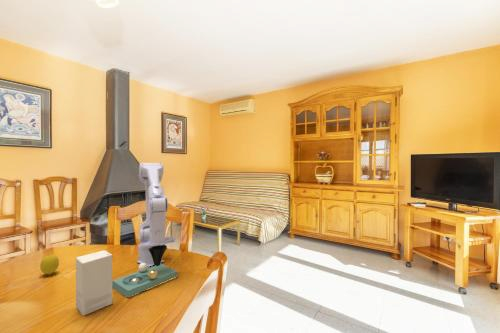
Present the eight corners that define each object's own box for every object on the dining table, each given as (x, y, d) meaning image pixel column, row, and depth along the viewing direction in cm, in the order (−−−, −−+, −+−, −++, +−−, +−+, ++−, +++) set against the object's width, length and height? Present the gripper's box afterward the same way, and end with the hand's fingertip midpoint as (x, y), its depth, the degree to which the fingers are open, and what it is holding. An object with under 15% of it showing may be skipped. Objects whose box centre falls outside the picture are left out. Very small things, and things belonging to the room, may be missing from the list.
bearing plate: (160, 269, 101) (161, 263, 101) (177, 277, 95) (177, 271, 95) (112, 287, 86) (112, 280, 86) (128, 298, 80) (128, 290, 80)
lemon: (48, 278, 92) (48, 257, 92) (36, 277, 93) (36, 255, 93) (62, 272, 97) (62, 252, 97) (50, 270, 98) (51, 250, 98)
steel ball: (129, 287, 87) (127, 280, 86) (137, 281, 90) (135, 274, 88) (134, 291, 85) (132, 283, 84) (142, 284, 88) (140, 277, 87)
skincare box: (105, 297, 80) (105, 249, 80) (113, 304, 76) (114, 254, 76) (74, 308, 74) (74, 256, 74) (82, 317, 70) (82, 262, 69)
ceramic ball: (136, 271, 93) (136, 263, 93) (144, 268, 96) (144, 260, 96) (141, 274, 92) (141, 265, 91) (149, 271, 94) (149, 262, 94)
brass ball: (144, 276, 87) (149, 267, 88) (151, 278, 89) (155, 269, 90) (149, 279, 85) (154, 270, 86) (156, 281, 87) (160, 272, 89)
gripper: (145, 235, 85) (144, 274, 86) (180, 227, 97) (179, 261, 97) (134, 231, 90) (134, 269, 90) (169, 224, 101) (168, 257, 101)
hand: (157, 265), depth 94 cm, fingers closed
